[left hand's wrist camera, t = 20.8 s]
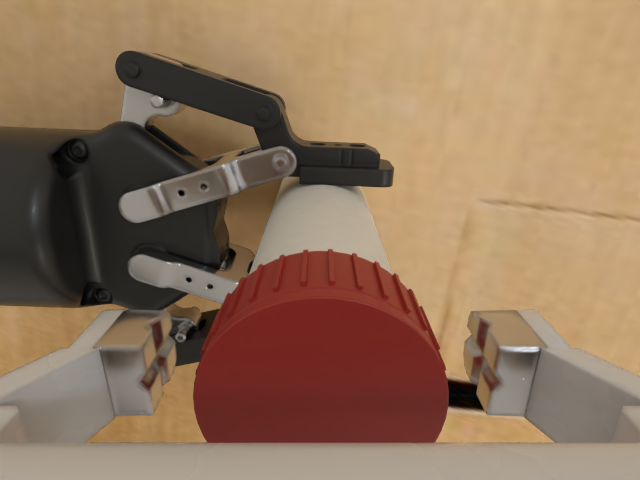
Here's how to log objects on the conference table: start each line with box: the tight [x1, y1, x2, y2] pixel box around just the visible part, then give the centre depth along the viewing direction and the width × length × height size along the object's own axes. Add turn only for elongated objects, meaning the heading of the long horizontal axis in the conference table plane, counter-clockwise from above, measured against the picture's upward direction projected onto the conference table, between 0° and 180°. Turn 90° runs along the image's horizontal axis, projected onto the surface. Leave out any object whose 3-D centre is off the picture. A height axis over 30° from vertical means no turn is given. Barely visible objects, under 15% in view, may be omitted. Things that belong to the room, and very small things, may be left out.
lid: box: [193, 249, 449, 443], centre depth 9 cm, size 5×5×2 cm
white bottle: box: [249, 177, 393, 275], centre depth 17 cm, size 4×4×16 cm
